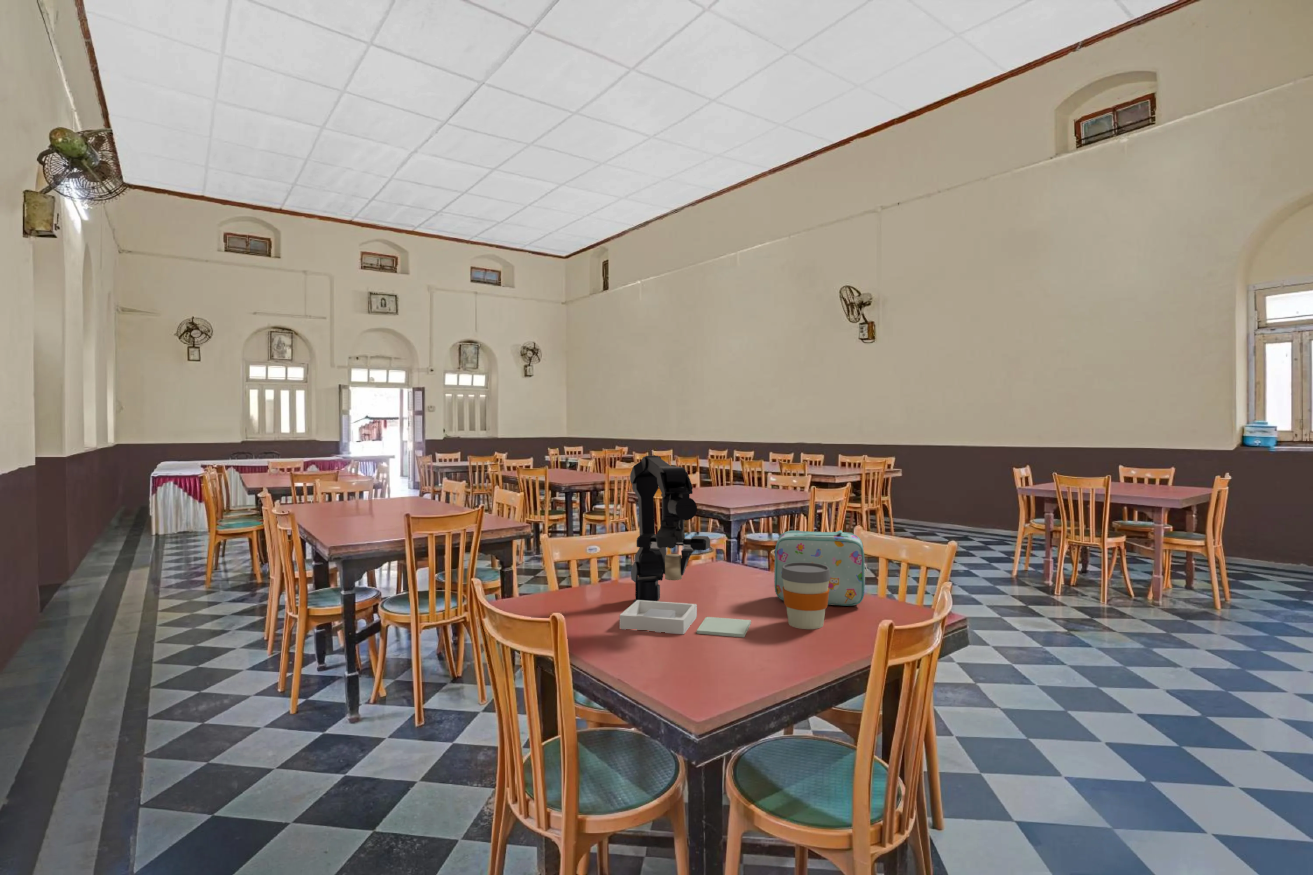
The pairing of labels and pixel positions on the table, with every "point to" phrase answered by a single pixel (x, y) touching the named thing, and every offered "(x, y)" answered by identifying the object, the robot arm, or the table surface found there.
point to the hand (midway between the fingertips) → (673, 574)
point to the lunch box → (825, 562)
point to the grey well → (659, 616)
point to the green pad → (724, 627)
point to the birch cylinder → (673, 567)
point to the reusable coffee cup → (805, 593)
